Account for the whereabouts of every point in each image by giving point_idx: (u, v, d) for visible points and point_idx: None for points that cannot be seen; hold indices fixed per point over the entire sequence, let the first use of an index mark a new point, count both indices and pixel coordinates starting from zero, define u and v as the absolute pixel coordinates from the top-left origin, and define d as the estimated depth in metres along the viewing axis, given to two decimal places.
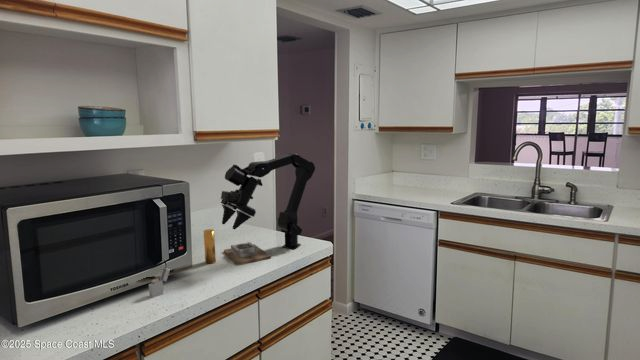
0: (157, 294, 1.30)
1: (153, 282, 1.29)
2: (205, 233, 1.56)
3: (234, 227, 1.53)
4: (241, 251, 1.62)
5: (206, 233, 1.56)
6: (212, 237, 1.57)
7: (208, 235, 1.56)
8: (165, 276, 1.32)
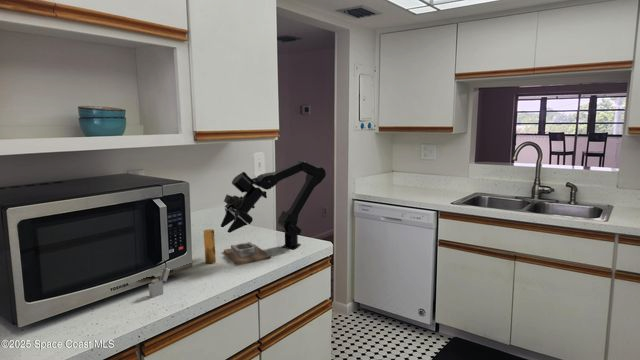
0: (157, 294, 1.30)
1: (153, 282, 1.29)
2: (205, 233, 1.56)
3: (229, 230, 1.57)
4: (241, 251, 1.62)
5: (206, 233, 1.56)
6: (212, 237, 1.57)
7: (208, 235, 1.56)
8: (165, 276, 1.32)
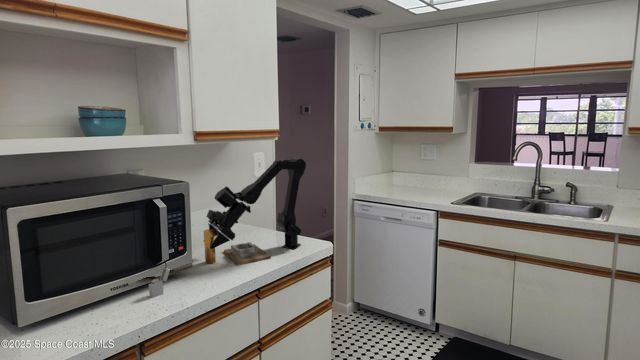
0: (157, 294, 1.30)
1: (153, 282, 1.29)
2: (205, 233, 1.56)
3: (211, 247, 1.54)
4: (241, 251, 1.62)
5: (206, 233, 1.56)
6: (212, 237, 1.57)
7: (208, 235, 1.56)
8: (165, 276, 1.32)
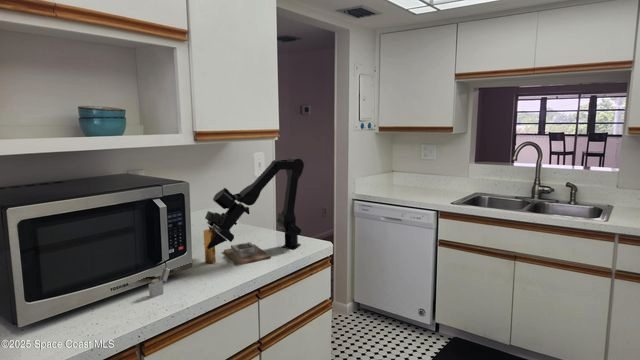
0: (157, 294, 1.30)
1: (153, 282, 1.29)
2: (205, 233, 1.56)
3: (208, 247, 1.56)
4: (241, 251, 1.62)
5: (206, 233, 1.56)
6: (212, 237, 1.57)
7: (208, 235, 1.56)
8: (165, 276, 1.32)
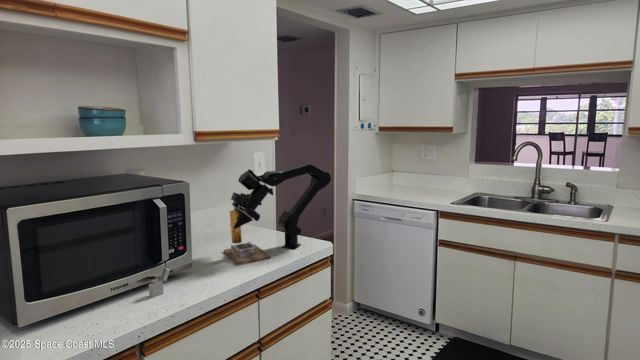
0: (157, 294, 1.30)
1: (153, 282, 1.29)
2: (231, 213, 1.61)
3: (235, 226, 1.61)
4: (241, 251, 1.62)
5: (232, 213, 1.61)
6: (238, 217, 1.62)
7: (235, 216, 1.61)
8: (165, 276, 1.32)
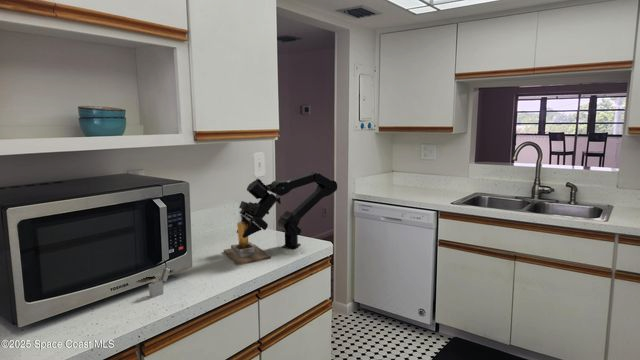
0: (157, 294, 1.30)
1: (153, 282, 1.29)
2: (239, 225, 1.63)
3: (244, 235, 1.62)
4: (241, 251, 1.62)
5: (240, 225, 1.63)
6: None
7: (242, 227, 1.63)
8: (165, 276, 1.32)
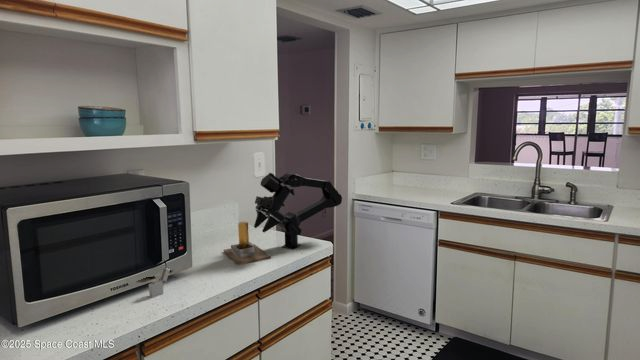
0: (157, 294, 1.30)
1: (153, 282, 1.29)
2: (240, 225, 1.63)
3: (264, 230, 1.64)
4: (241, 251, 1.62)
5: (241, 225, 1.63)
6: (246, 229, 1.64)
7: (243, 228, 1.63)
8: (165, 276, 1.32)
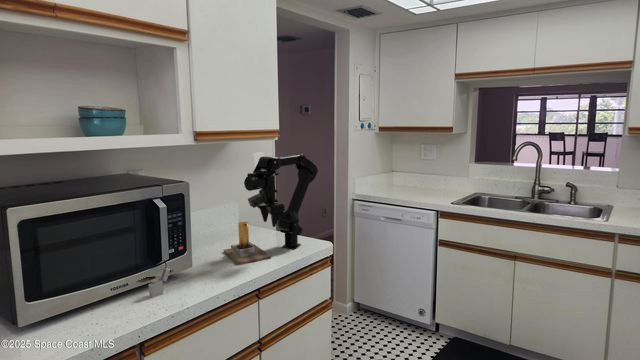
0: (157, 294, 1.30)
1: (153, 282, 1.29)
2: (240, 225, 1.63)
3: (274, 225, 1.62)
4: (241, 251, 1.62)
5: (241, 225, 1.63)
6: (246, 229, 1.64)
7: (243, 228, 1.63)
8: (165, 276, 1.32)
